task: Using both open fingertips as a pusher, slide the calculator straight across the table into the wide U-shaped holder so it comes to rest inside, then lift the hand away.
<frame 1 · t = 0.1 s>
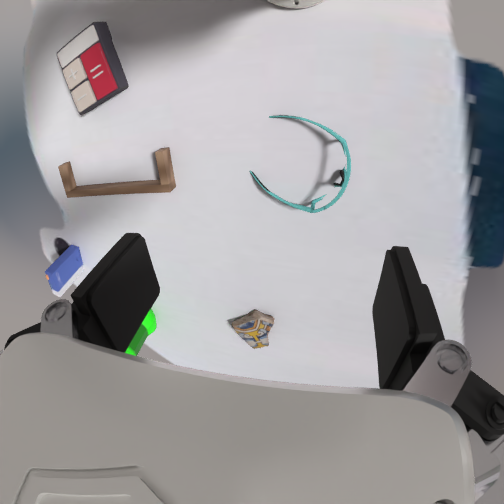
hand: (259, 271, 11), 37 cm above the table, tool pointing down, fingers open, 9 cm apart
calculator: (97, 66, 40), on the table
walkman: (78, 256, 69), on the table
ceramic tile fragment: (255, 323, 69), on the table
holder: (112, 168, 52), on the table
teal safety glasses: (303, 160, 45), on the table
plastic bottle: (145, 309, 74), on the table
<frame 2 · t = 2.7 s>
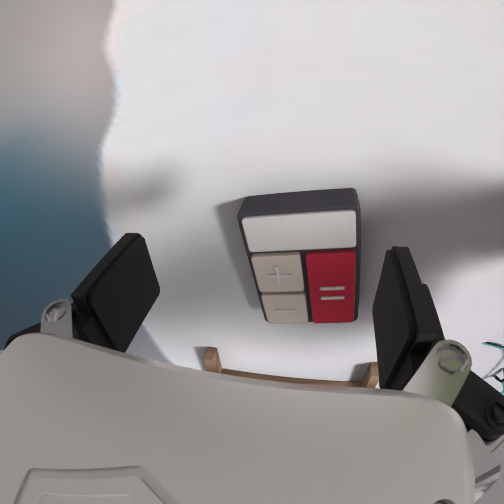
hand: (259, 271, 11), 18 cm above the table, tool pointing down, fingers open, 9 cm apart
calculator: (307, 253, 32), on the table
holder: (292, 368, 44), on the table
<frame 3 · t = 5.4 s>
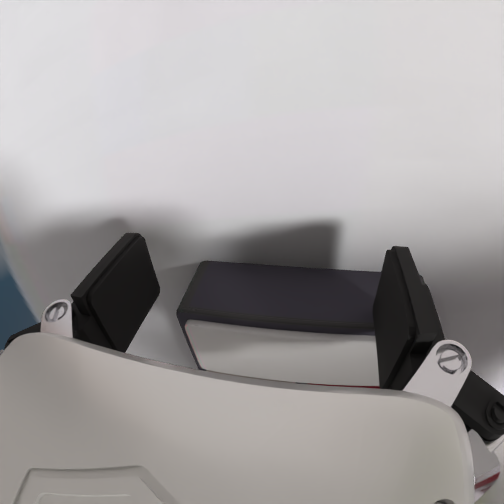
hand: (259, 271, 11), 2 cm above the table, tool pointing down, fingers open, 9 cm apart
calculator: (304, 354, 18), on the table, touching gripper
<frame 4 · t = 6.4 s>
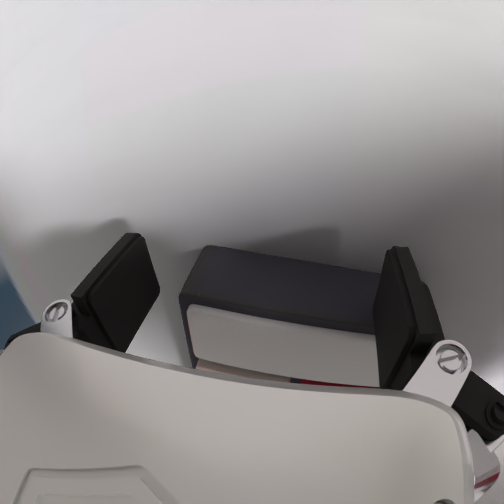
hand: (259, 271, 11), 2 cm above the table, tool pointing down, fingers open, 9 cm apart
calculator: (295, 350, 18), on the table
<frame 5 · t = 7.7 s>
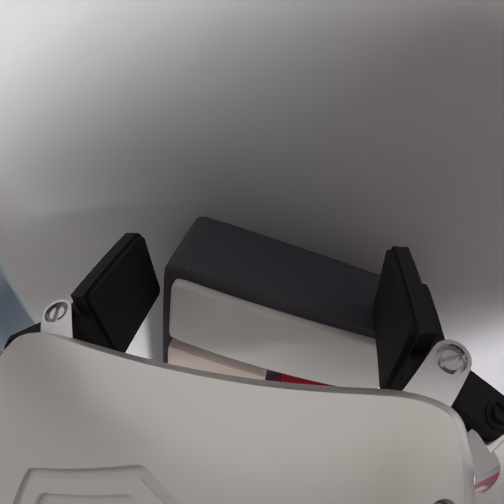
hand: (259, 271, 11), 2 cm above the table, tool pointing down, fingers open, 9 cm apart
calculator: (269, 342, 18), on the table, touching gripper
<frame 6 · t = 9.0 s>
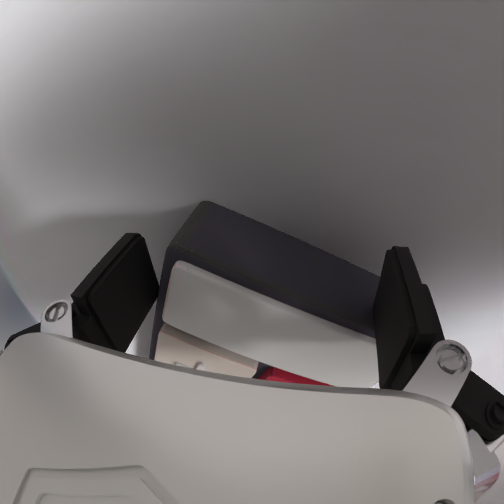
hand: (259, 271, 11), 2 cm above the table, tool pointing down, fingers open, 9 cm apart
calculator: (258, 335, 17), on the table
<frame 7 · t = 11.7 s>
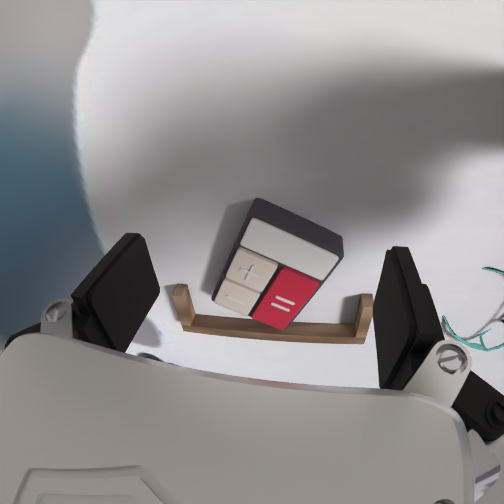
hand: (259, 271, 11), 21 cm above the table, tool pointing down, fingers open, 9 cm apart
calculator: (274, 262, 37), on the table
holder: (272, 306, 41), on the table
teal safety glasses: (487, 303, 34), on the table
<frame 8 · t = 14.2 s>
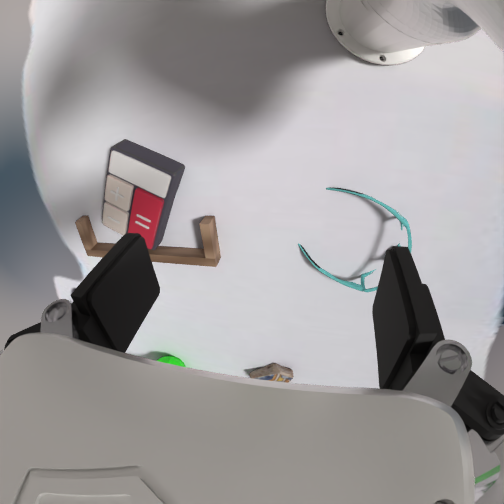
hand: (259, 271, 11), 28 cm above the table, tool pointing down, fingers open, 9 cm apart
calculator: (144, 191, 44), on the table
ceramic tile fragment: (272, 373, 65), on the table
holder: (142, 230, 48), on the table
teal safety glasses: (357, 235, 41), on the table
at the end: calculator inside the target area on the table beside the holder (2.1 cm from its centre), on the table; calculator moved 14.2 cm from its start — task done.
